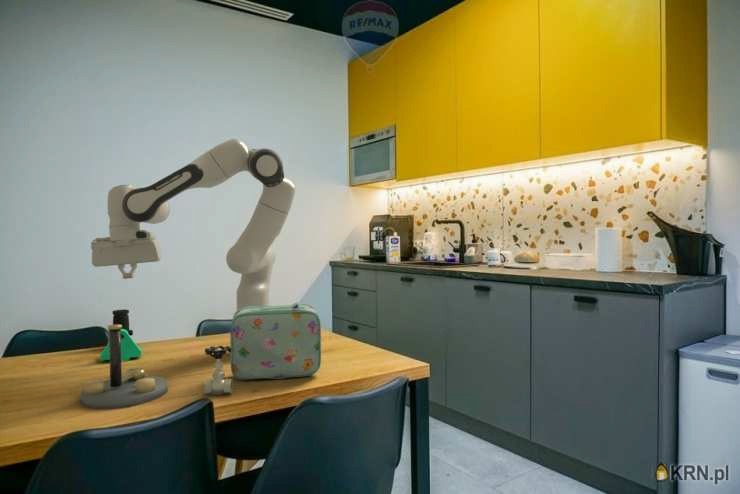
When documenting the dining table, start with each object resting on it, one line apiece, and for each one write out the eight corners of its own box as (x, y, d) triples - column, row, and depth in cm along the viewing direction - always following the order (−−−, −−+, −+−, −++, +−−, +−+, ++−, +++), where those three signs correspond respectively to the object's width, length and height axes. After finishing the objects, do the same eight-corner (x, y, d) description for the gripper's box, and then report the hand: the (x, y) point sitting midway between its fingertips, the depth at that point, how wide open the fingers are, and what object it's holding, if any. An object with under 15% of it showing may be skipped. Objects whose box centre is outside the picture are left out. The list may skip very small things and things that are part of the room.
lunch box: (321, 367, 147) (321, 299, 146) (325, 377, 137) (325, 303, 136) (232, 373, 141) (231, 302, 141) (229, 384, 131) (228, 307, 131)
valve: (209, 390, 125) (208, 345, 125) (234, 390, 126) (233, 345, 126) (202, 399, 119) (201, 351, 119) (229, 398, 119) (228, 351, 119)
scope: (106, 313, 169) (109, 309, 178) (107, 352, 169) (109, 346, 179) (131, 312, 172) (133, 308, 182) (132, 349, 173) (133, 344, 182)
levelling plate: (177, 381, 134) (176, 365, 134) (153, 406, 114) (152, 387, 114) (102, 384, 131) (102, 368, 131) (64, 410, 112) (64, 391, 111)
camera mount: (141, 354, 166) (141, 325, 166) (141, 359, 159) (140, 329, 159) (102, 358, 161) (102, 328, 161) (100, 363, 154) (99, 332, 154)
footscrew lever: (133, 375, 132) (132, 318, 132) (148, 375, 131) (147, 318, 131) (103, 388, 120) (102, 326, 120) (119, 389, 120) (118, 326, 119)
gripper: (86, 237, 148) (89, 281, 148) (155, 232, 152) (158, 275, 151) (94, 239, 155) (98, 281, 154) (160, 233, 158) (164, 275, 158)
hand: (128, 278), depth 153 cm, fingers closed
